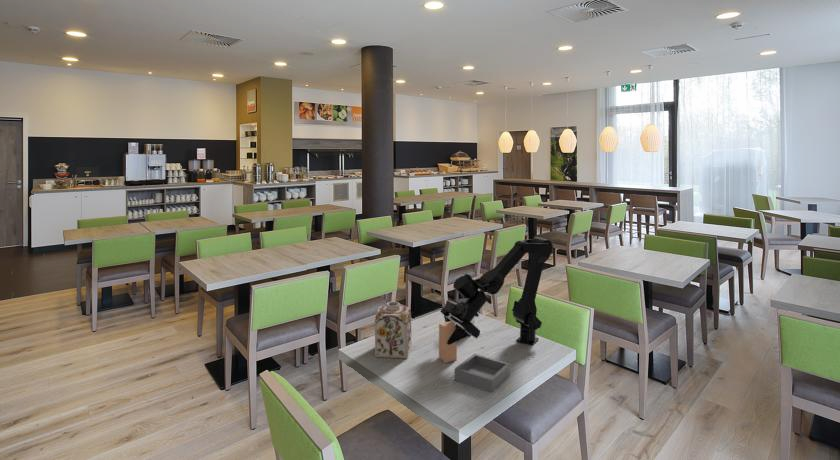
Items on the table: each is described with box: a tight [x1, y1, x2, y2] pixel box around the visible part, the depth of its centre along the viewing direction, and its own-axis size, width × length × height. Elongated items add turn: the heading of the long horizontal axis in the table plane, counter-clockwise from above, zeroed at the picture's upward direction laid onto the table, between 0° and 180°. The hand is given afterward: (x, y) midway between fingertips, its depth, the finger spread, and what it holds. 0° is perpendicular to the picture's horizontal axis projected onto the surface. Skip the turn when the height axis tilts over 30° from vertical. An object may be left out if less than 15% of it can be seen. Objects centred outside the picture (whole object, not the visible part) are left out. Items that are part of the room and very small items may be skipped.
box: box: [454, 353, 511, 393], centre depth 147 cm, size 13×13×4 cm
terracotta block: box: [438, 321, 458, 363], centre depth 159 cm, size 4×4×12 cm
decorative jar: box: [374, 301, 412, 360], centre depth 164 cm, size 12×12×18 cm
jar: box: [455, 297, 479, 329], centre depth 184 cm, size 9×8×12 cm
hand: (444, 341), depth 158 cm, fingers closed on terracotta block, 4 cm apart
